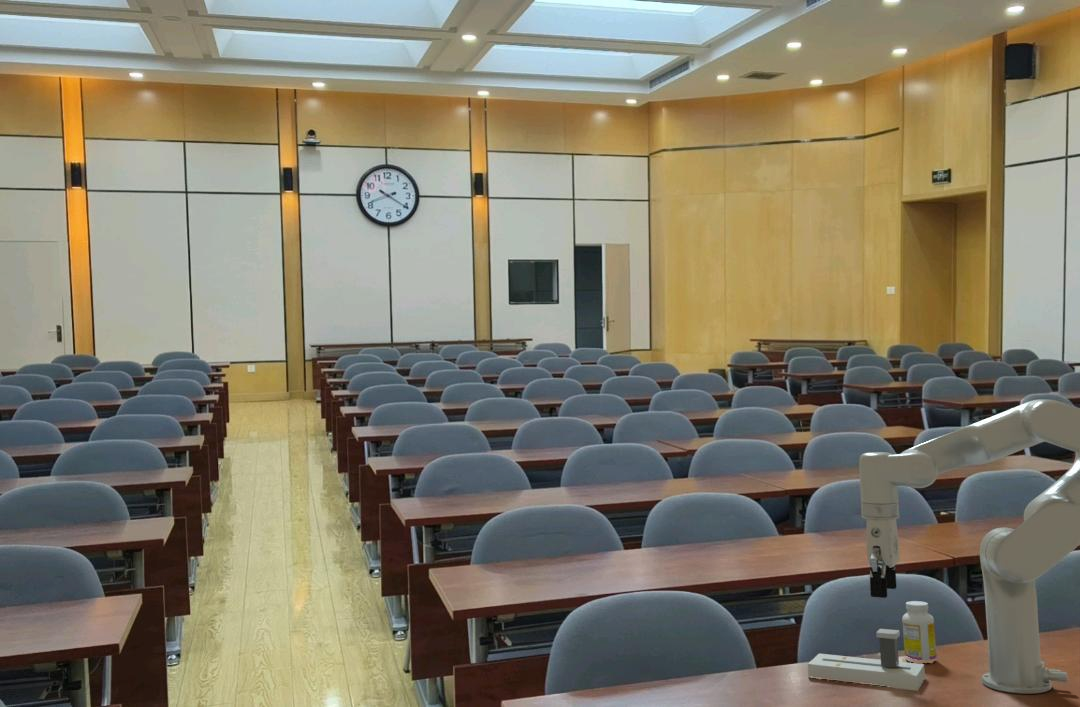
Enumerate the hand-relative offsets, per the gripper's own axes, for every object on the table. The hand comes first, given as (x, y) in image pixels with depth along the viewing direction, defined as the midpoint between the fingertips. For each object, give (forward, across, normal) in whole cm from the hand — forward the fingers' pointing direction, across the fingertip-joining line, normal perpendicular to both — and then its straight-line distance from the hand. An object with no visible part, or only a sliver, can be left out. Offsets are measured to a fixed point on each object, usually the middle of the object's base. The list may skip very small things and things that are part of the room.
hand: (883, 592), depth 196 cm
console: (+18, 0, +4) cm, 19 cm away
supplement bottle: (+18, +18, -4) cm, 26 cm away
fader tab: (+15, 0, -1) cm, 15 cm away
